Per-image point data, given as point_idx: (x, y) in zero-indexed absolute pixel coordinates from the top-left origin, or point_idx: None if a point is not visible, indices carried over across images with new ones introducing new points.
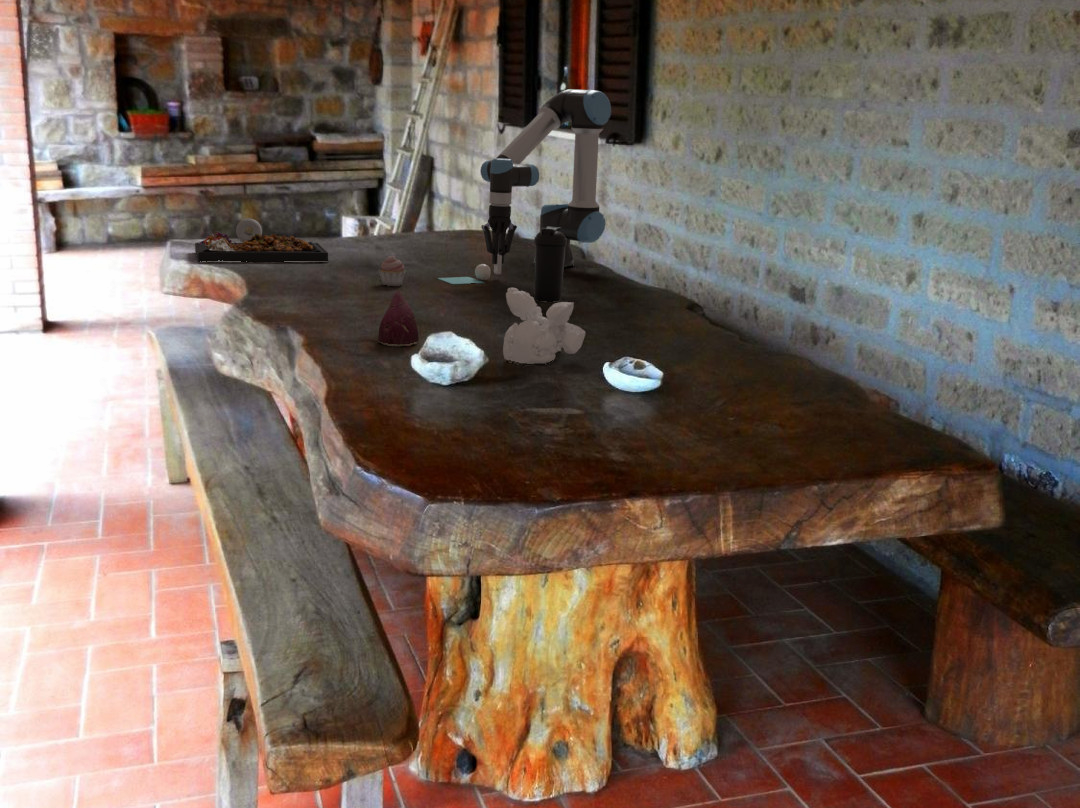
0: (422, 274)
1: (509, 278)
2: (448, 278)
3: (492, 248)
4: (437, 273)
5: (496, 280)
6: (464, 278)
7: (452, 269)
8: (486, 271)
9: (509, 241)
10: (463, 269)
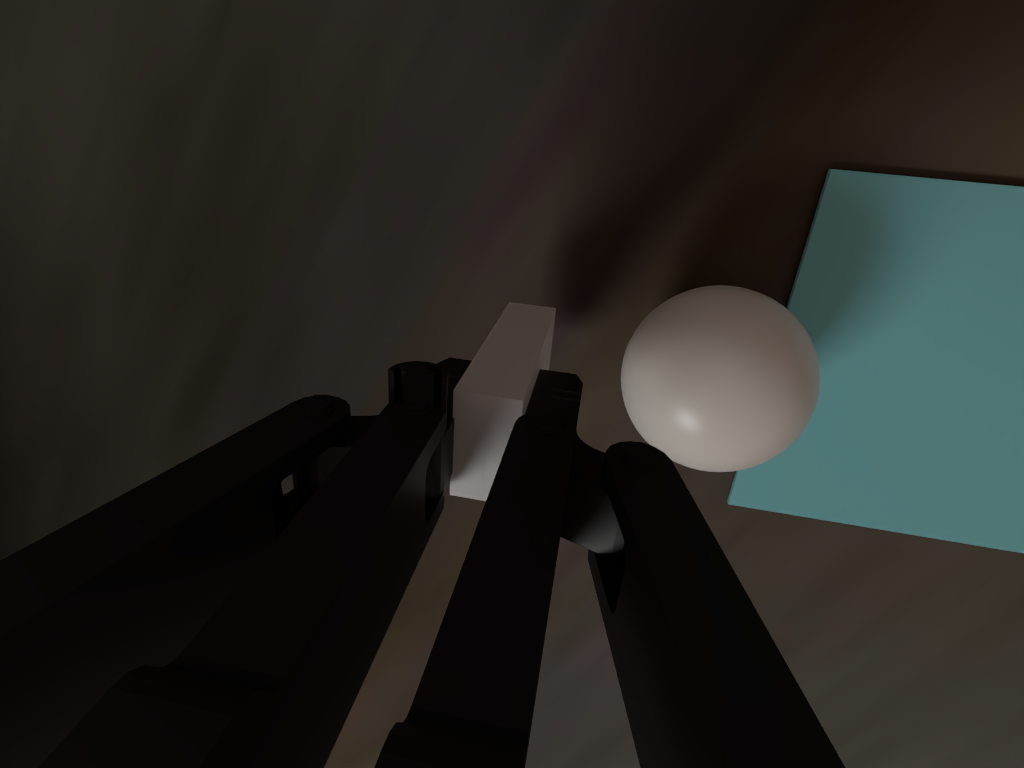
0: (988, 731)
1: (396, 324)
2: (990, 508)
3: (631, 494)
4: (832, 711)
5: (580, 275)
6: (838, 452)
7: (605, 758)
8: (740, 298)
9: (170, 510)
10: (532, 730)
